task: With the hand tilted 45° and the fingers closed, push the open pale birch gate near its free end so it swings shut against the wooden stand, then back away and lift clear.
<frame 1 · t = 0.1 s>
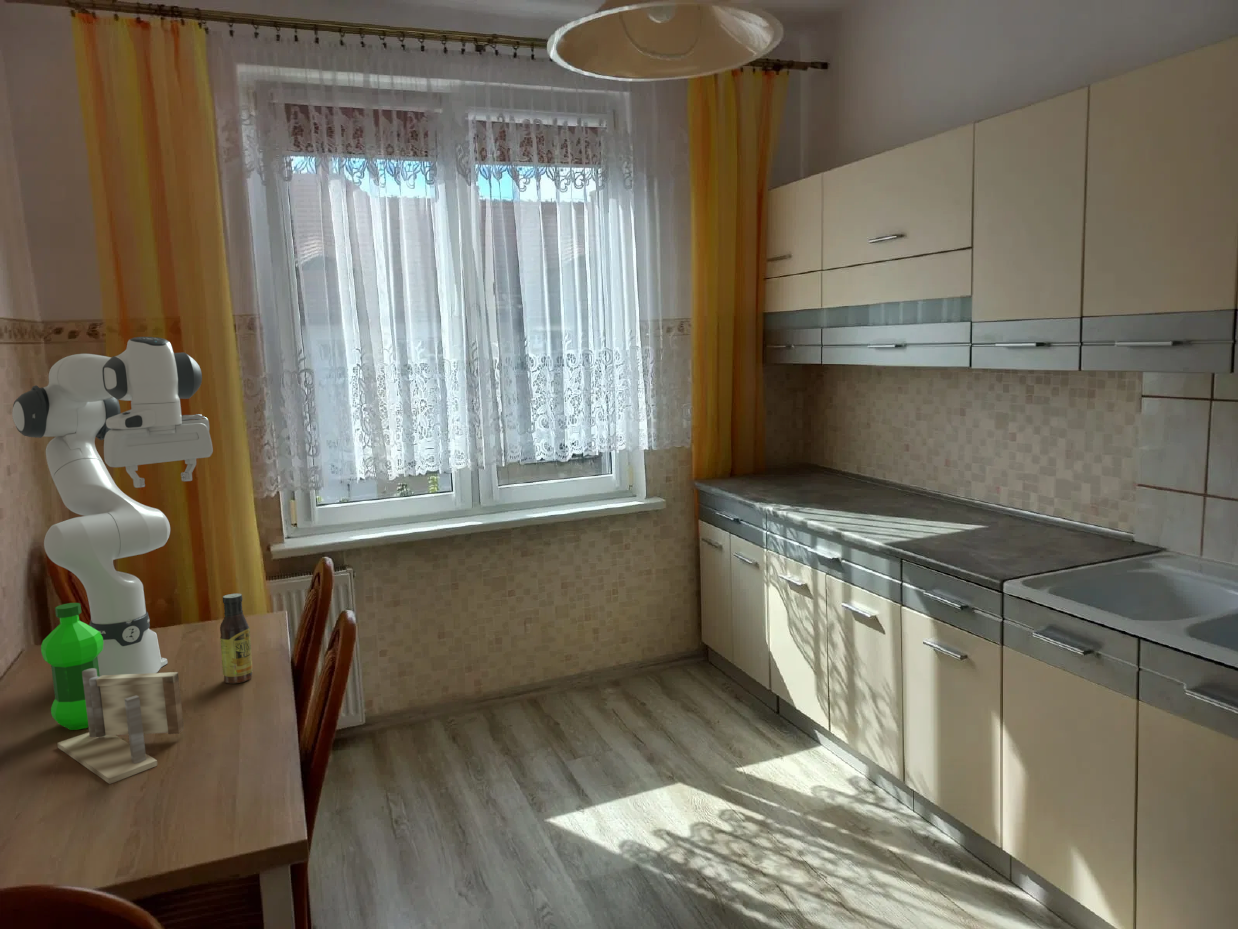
hand: (163, 484, 173), 48 cm above the table, tool pointing down, fingers open, 8 cm apart
wooden stand: (106, 756, 157), on the table
gate: (135, 704, 162), point 7 cm above the table, hinge at 40.0°
plastic bottle: (82, 725, 172), on the table
sauce bottle: (239, 680, 193), on the table
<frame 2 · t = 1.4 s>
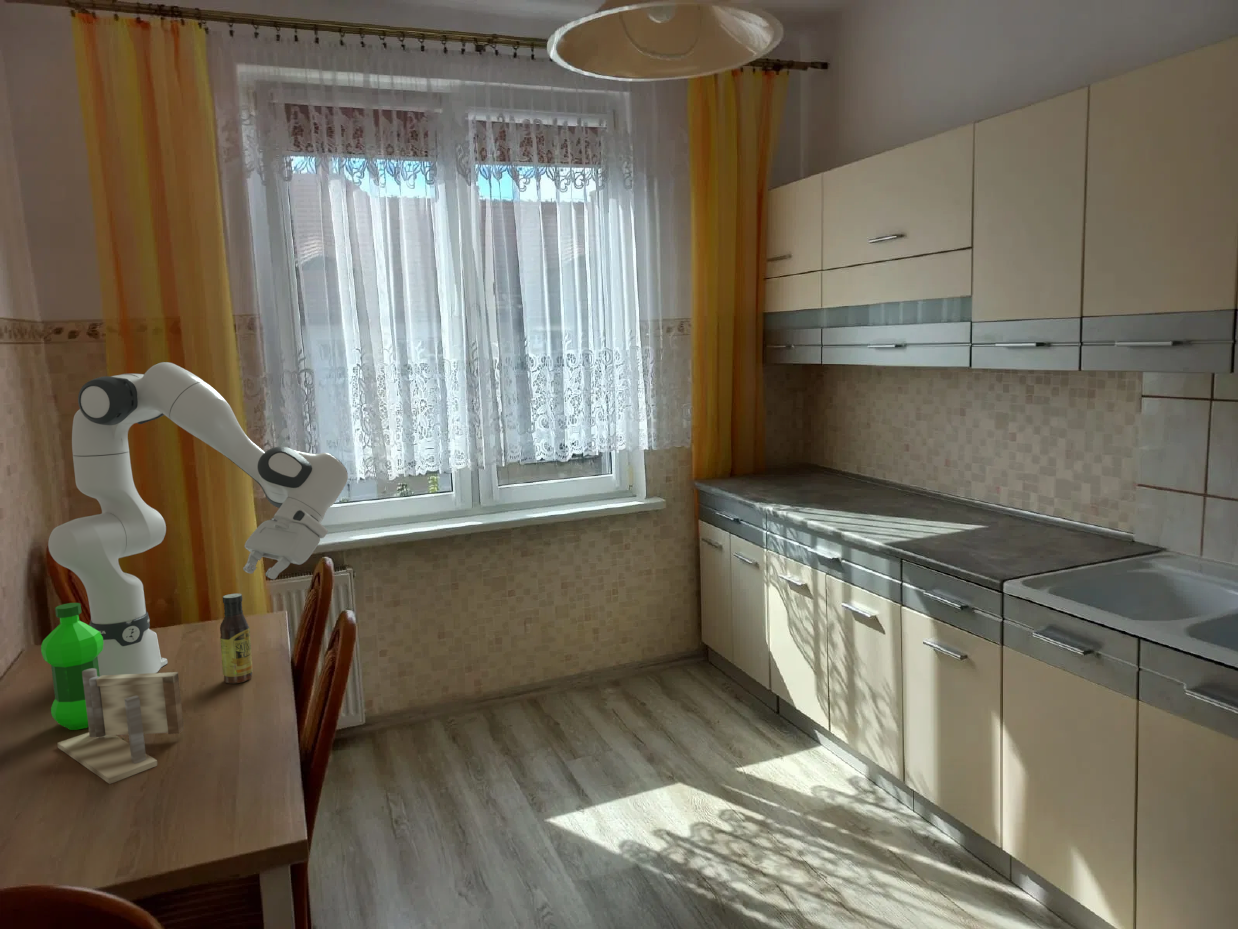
hand: (258, 574, 176), 28 cm above the table, tool tilted 45°, fingers open, 8 cm apart
nothing on the table moved.
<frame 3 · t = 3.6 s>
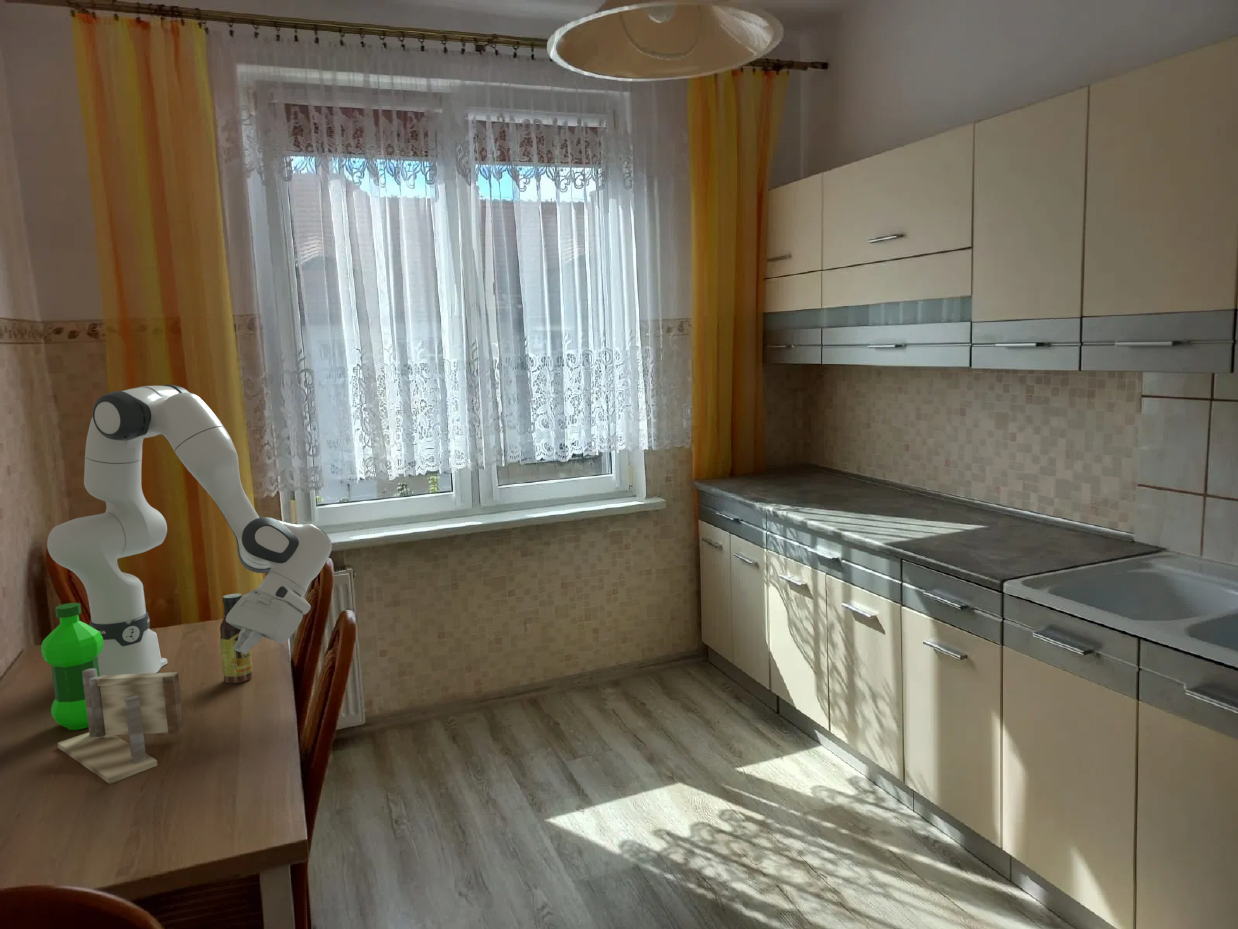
hand: (239, 651, 173), 13 cm above the table, tool tilted 45°, fingers closed
nothing on the table moved.
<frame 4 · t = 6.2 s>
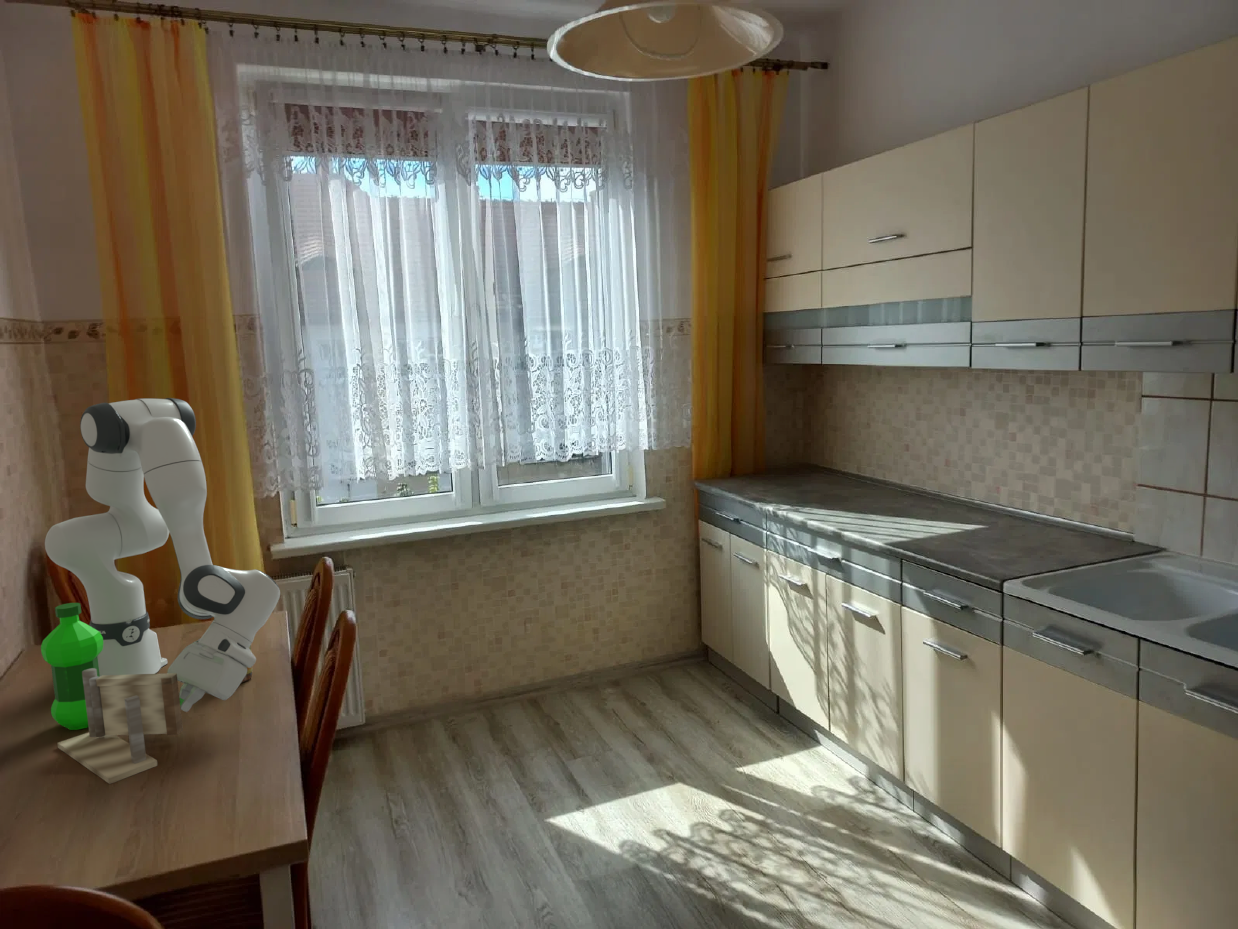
hand: (179, 709, 164), 5 cm above the table, tool tilted 45°, fingers closed
gate: (135, 705, 162), point 7 cm above the table, hinge at 38.0°, touching gripper
everything else where it was.
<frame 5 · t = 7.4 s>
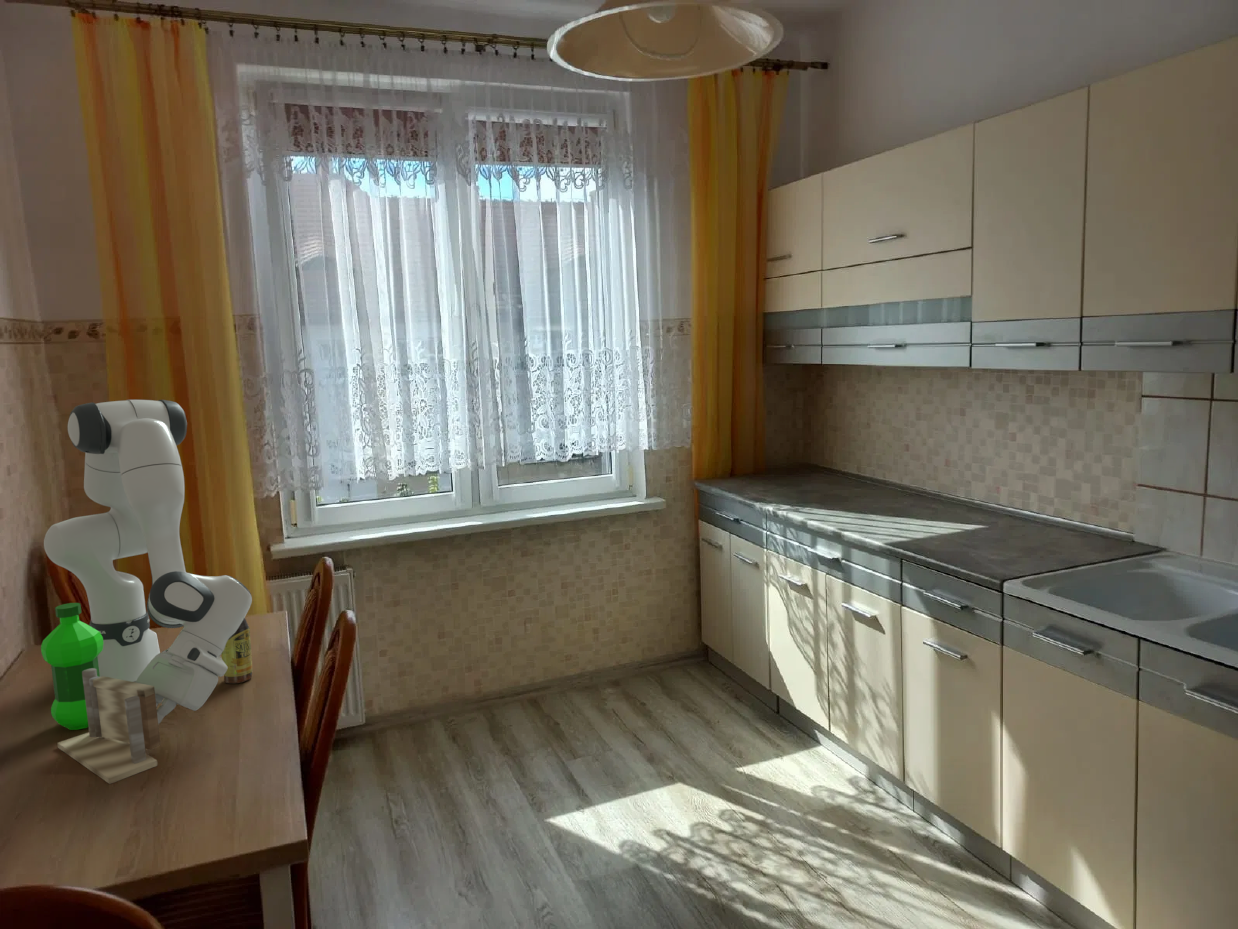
hand: (149, 720, 159), 5 cm above the table, tool tilted 45°, fingers closed
gate: (123, 711, 159), point 7 cm above the table, hinge at 13.9°, touching gripper
everything else where it was.
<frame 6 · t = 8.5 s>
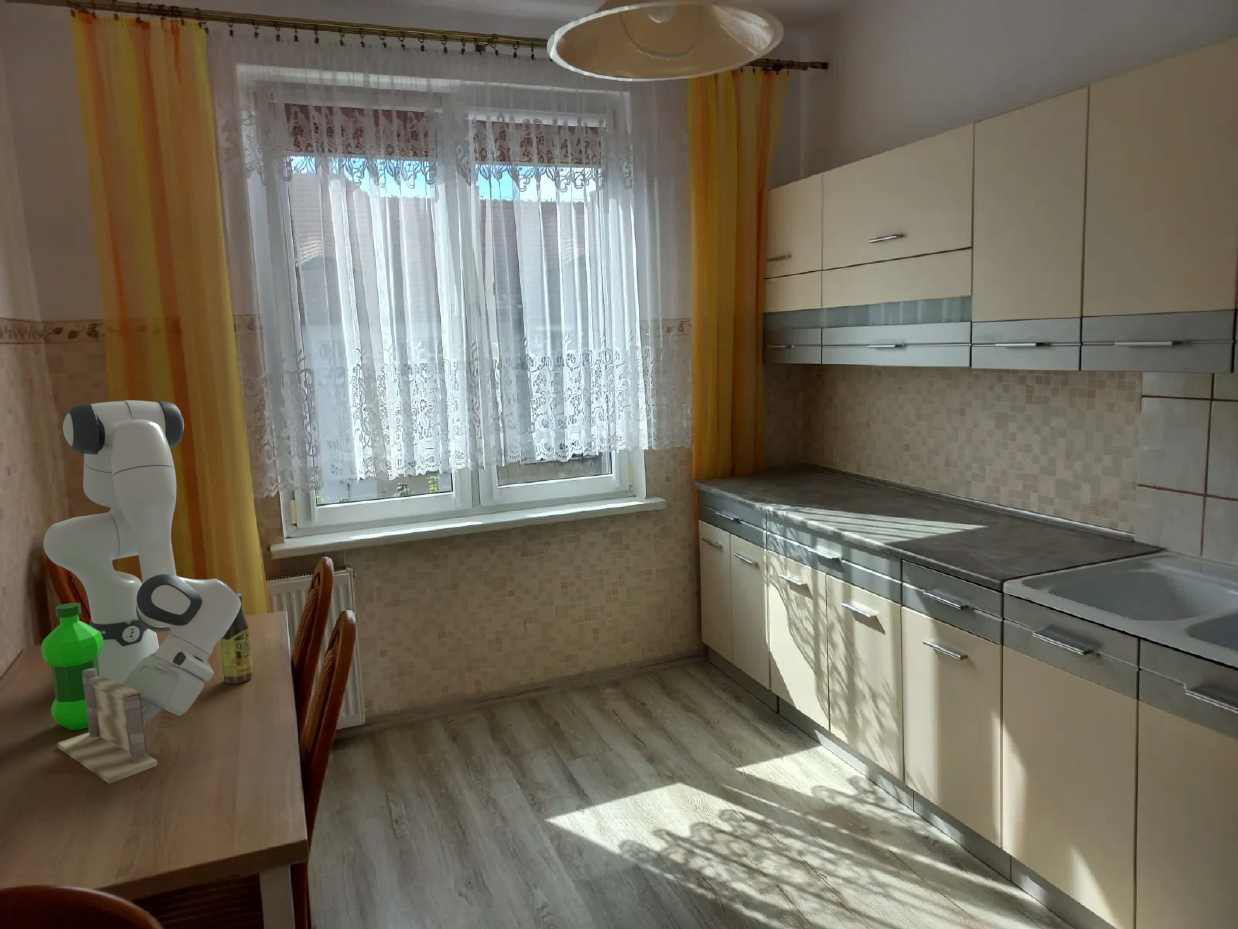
hand: (133, 725, 158), 5 cm above the table, tool tilted 45°, fingers closed
gate: (116, 714, 158), point 7 cm above the table, hinge at 3.4°, touching gripper
everything else where it was.
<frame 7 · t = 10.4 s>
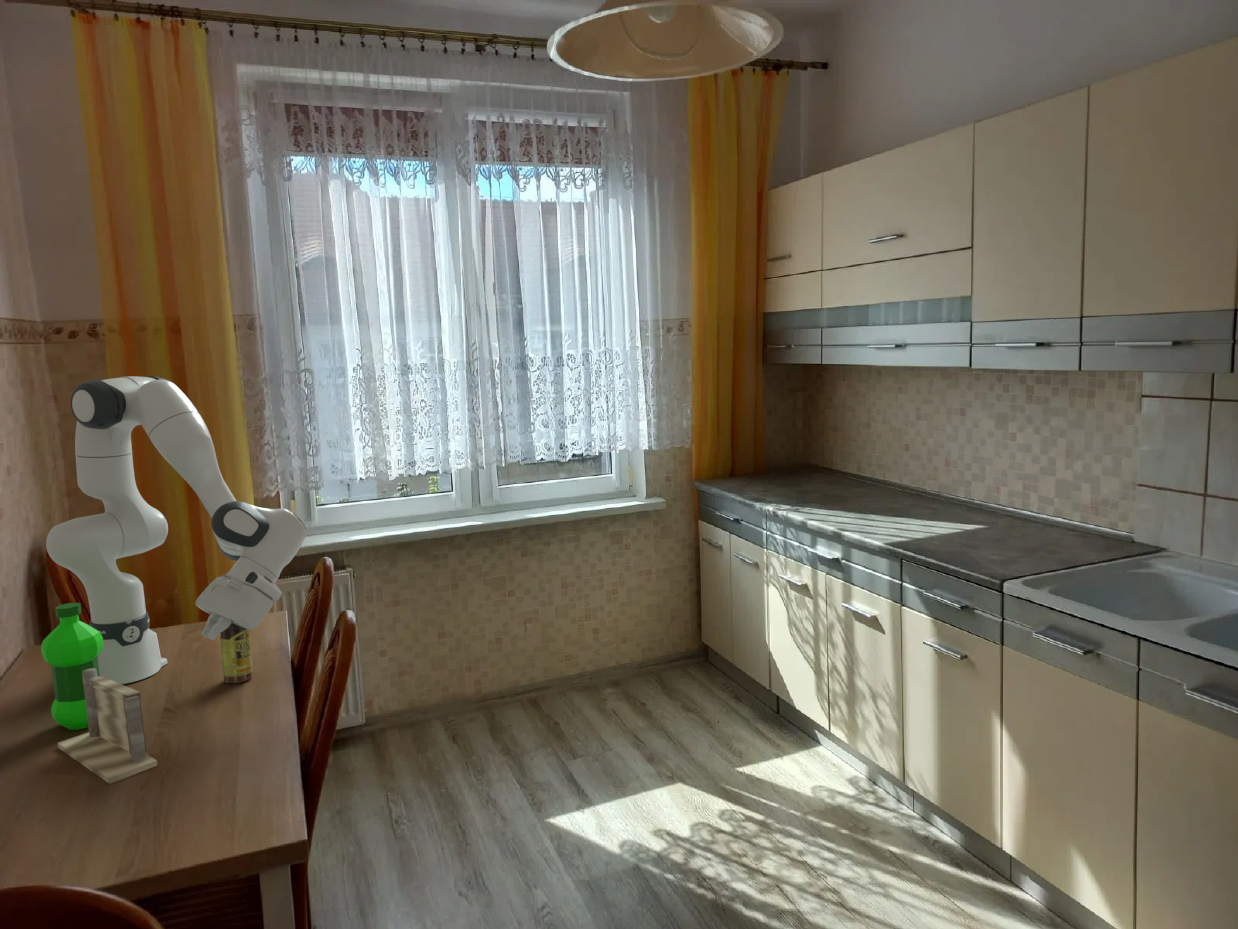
hand: (207, 637, 170), 17 cm above the table, tool tilted 45°, fingers closed
gate: (116, 714, 158), point 7 cm above the table, hinge at 3.3°
everything else where it was.
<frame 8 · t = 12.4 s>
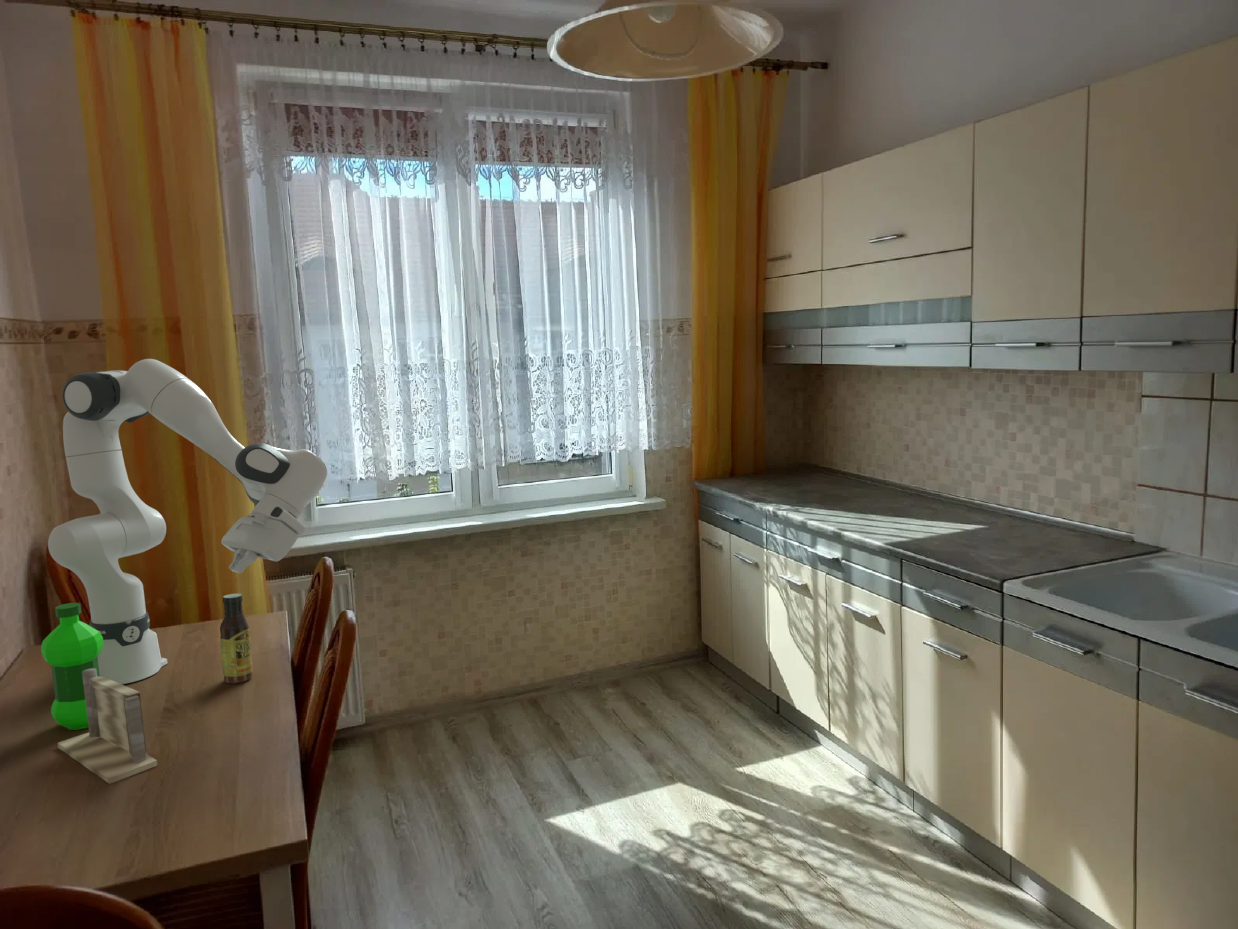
hand: (234, 571, 174), 29 cm above the table, tool tilted 45°, fingers closed
nothing on the table moved.
at the end: gate at +3° (first picture: +40°); sauce bottle moved 0.2 cm from its start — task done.
